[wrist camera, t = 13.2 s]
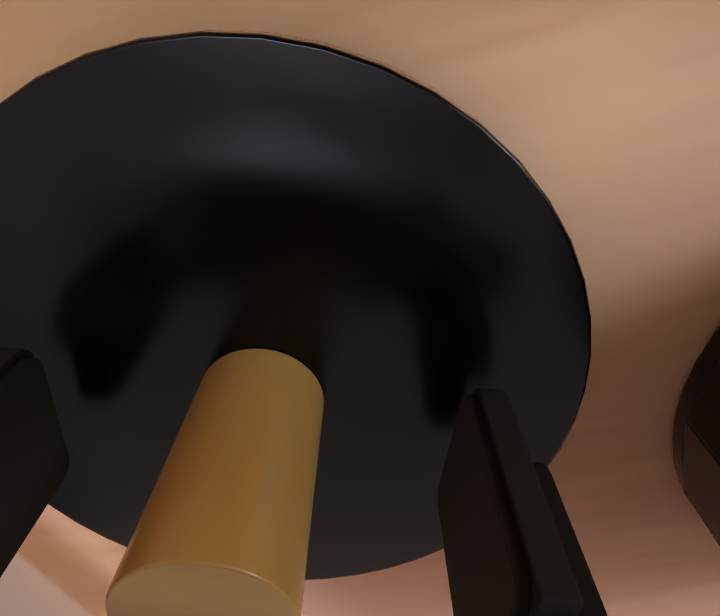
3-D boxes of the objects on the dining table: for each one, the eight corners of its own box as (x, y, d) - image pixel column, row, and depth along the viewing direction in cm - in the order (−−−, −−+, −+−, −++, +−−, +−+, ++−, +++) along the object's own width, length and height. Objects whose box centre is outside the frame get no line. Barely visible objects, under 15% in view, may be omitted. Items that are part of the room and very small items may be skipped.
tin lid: (-158, -18, 8) (-1029, -66, 3) (678, 76, 8) (1114, 167, 4) (41, 525, 15) (-120, 779, 10) (491, 557, 15) (549, 812, 10)
